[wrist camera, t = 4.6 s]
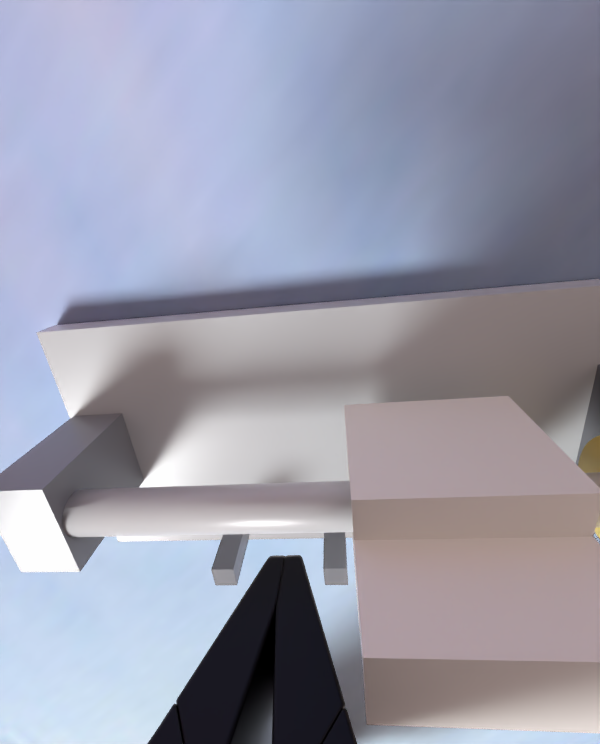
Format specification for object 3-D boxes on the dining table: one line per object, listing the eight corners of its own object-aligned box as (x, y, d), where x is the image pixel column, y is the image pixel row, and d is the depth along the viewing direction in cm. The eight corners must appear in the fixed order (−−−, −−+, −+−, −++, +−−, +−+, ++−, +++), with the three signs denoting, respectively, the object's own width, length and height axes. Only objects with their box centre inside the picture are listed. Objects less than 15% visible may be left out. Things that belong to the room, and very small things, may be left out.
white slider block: (350, 508, 13) (368, 756, 7) (343, 405, 12) (360, 611, 6) (494, 505, 13) (643, 769, 7) (508, 395, 11) (724, 612, 5)
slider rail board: (128, 524, 18) (16, 699, 11) (55, 324, 14) (-176, 417, 8) (622, 513, 15) (830, 725, 9) (696, 270, 12) (1147, 338, 5)
